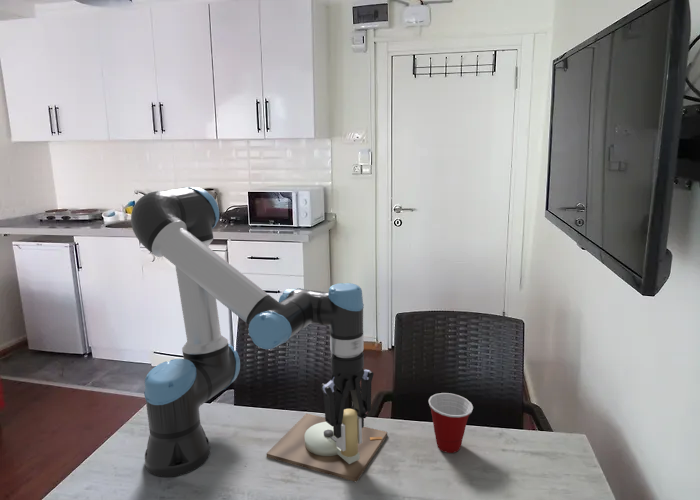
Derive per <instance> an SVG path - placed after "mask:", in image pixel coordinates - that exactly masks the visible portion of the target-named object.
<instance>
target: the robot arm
mask: <svg viewBox="0 0 700 500" xmlns="http://www.w3.org/2000/svg"><path fill="white" fill-rule="evenodd" d="M130 215H131V216H130V223H131V228H132V231H133V233H134V235H135V237H136V238H137V240H138V241H139V242H140V244H141V245H142V246H143V247H144V248H145V249H146V250H147V251H149V252H150V253H151V254H152V255H153V256H155V257H157V258H162V257H164V258H165V259H166V260H167V261H169V262H170V263H172V265H173V266H175V271H176V279H177V284H178V290H179V297H180V305H181V312H182V316H183V323H184V329H185V335H186V341H185V342H186V343H185V344H184V345H183V347H182V348H181V350H182V357H183V358H175V359H174V358H173V359H170V360H169V361H163V362H161V363H159V364H157V365H155V366H154V367H153V368H151V369H150V371H148V373H147V374H146V377H144V379H145V380H144V391H143V392H144V399H145V405H146V414H147V420H148V427H149V428H148V430H149V435H148V441H147V444H146V446H147V447H146V449H145V452H144V463H145V468H146V470H147V471H148V473H151V475H154V476H157V477H163V478H164V477H165V478H167V477H177V476H182V475H186V474H189V473H191V472H193V471H195V470H197V469H198V468H199V467H201V466H203V464H205V463H206V462H207V461H208V460H209V457H210V455H211V445H210V444H211V443H210V440H209V437H207V434H206V432H205V430H204V428H203V426H202V424H201V417H200V414H201V413H200V407H202V405H204V404H205V403H207V402H208V401H209V400H211V399H212V398H213V397H215V396H216V395H218V394H219V393H220V392H222V391H224V390H226V389H227V388H228V387H229V386H230V385H231V384H232V383H234V381H236V380H237V378H238V376H239V374H240V369H241V361H240V360H241V359H240V356H239V353H238V351H237V350H235V347H234V346H233V345H231V344H230V343H229V340H228V338H226V337H225V336H223V335H222V332H221V325H220V317H219V311H218V305H217V301H218V302H220V303H221V304H222V305H223V306H224V307H226V308H227V309H228V310H230V311H231V312H232V313H233V314H235V315H236V316H237V317H238V318H239V319H241V320H242V321H243V322H245V323H246V324H247V325H248V335H249V337H250V338H251V340H252V342H253V344H254V345H255V346H257V347H258V348H261V349H263V350H272V349H275V348H276V347H278V346H281V345H282V344H284V343H286V342H287V341H289V339H290V338H292V337H294V336H295V335H296V334H298V333H299V332H300V331H302V330H303V329H304V328H306V327H308V326H309V325H318V326H319V325H320V326H328V327H329V333H330V334H329V342H330V343H329V345H330V346H329V350H330V352H331V353H330V368H331V377H330V380H329V381H328V382H327V383H322V384H320V390H321V391H322V394H323V407H324V418H325V421H326V422H327V423H328V424H330V425H331V426H333V433H334V436H335V437H336V446H337V447H338V448H340V449H341V450H342V451H345V450H346V442H345V424H343V423H342V421H343V414H344V409H345V406H346V400H347V398H348V396H349V392H350V395H351V400H352V403H353V410H356V411H357V431H358V443H359V444H361V443H362V428H363V427H365V419H366V418H367V417H368V414H367V412H368V413H369V412H371V411H372V383H373V382H372V381H373V377H374V374H375V373H374V372H373V371H371V370H370V369H368V368H364V367H365V358H364V357H365V354H364V352H363V351H364V348H365V347H364V305H365V304H364V300H363V299H364V298H363V297H364V296H363V290H362V288H361V287H360V286H359V285H358V284H355V283H351V282H345V283H343V282H340V283H335V284H333V285H331V286H330V287H329V288H328V291H321V290H310V289H304V288H299V287H298V288H287V289H285V290H284V291H282V294H281V295H280V296H279V298H278V300H276V299H275V298H274V297H273V296H271V295H270V294H269V293H267V292H266V291H264V289H262V287H259V285H257V284H256V283H255V282H253V281H252V280H251V279H250V278H248V277H247V276H245V274H243V273H242V272H241V271H239V270H238V269H237V268H236V267H234V266H233V265H232V264H230V263H229V262H228V261H227V260H225V259H224V258H222V257H221V256H220V255H219V254H218V253H216V252H215V251H214V250H213V249H212V248H210V247H209V246H210V245H211V243H212V242H213V240H214V232H213V229H214V228H215V227H216V226H217V223H218V222H219V219H220V207H219V204H218V202H217V200H216V199H215V197H214V196H213V195H212V194H210V192H208V191H207V190H206V189H203V188H201V187H199V186H198V187H196V186H188V187H187V186H183V187H178V188H173V189H172V188H171V189H166V190H156V191H151V192H147V193H146V194H144V195H143V196H141V197H140V198H139V199H138V200H137V201H136V202H135V204H134V206H133V207H132V210H131V214H130ZM334 387H335V388H334ZM334 393H335V395H334Z"/></svg>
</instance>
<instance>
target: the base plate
mask: <svg viewBox="0 0 700 500" xmlns="http://www.w3.org/2000/svg"><path fill="white" fill-rule="evenodd" d="M321 422H326V421H325V416H324V417H323V416H319V415H315V414H311V413H305V414H304V415H303V416H302V417H301V418H300V419H299V420H298V421H297V422H296V423H295V424H294V425H293V426H292V427H291V428H290V429H289V430H288V431H287V432H286V433H285V434H284V435H283V436H282V437H281V438H280V439H279V440H278V441H277V442H276V443H275V444H274V445H273V446H272V447H271V448H270V449H269V450H268V451H267V452H266V453H265V455H266V458H269V459H272V460H276V461H279V462H282V463H283V462H284V463H287V464H289V465H290V464H291V465H293V466H294V465H295V466H297V467H301V468H304V469H307V470H311V471H315V472H319V473H321V474H325V475H326V474H327V475H329V476H334V477H336V478H340V479H343V480H347V481H351V482H354V483H358V481H359V479H360V478H361V476H362V475H363V473H364V472H365V470H366V469H367V467H368V465H370V462H371V461H372V459H373V458H374V457H375V455H376V453H377V452H378V450H379V449H380V447H381V446H382V444H383V443H384V441H385V440H386V438H388V437H387V436H388V431H385V430H381V429H377V428H373V427H368V426H364V427H363V428H362V443H361V444H359V443H358V452H359V453H360V459H359V460H357V461H355V462H353V463H351V464H349V463H347V462H346V461H345V460H344V459H343V458H341V457H340V456H339V455H334V456H320V455H316V454H313V453H311V452H310V451H309V450H308V449H307V448H306V446H305V432H306V431H307V429H309V428H310V427H311V426H313V425H315V424H318V423H321Z"/></svg>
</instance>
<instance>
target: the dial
mask: <svg viewBox="0 0 700 500" xmlns="http://www.w3.org/2000/svg"><path fill="white" fill-rule="evenodd" d="M342 423H343V424H345V442H346V450H345V451H342V450H341V449H340V448H338V447H337V446H336V437H335V436H334V433H333V426H331V425H330V424H328V423H327V422H321V423H318V424H315V425H313V426H311V427H310V428H309V429H307V431H306V432H305V446H306V448H307V449H308V450H309V451H310V452H311V453H313V454H316V455H320V456H334V455H339V456H340V457H341V458H343V459H344V460H345V461H346V462H347V463H349V464H351V463H353V462H355V461H357V460H359V459H360V453H359V452H358V431H357V411H356V410H355V409H354V408H344V414H343V421H342Z"/></svg>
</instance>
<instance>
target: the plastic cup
mask: <svg viewBox="0 0 700 500" xmlns="http://www.w3.org/2000/svg"><path fill="white" fill-rule="evenodd" d="M428 404H429V405H428V406H429V407H430V410H431V411H430V413H431V416H432V417H431V418H432V425H433V431H434V435H435V442H436V445H437V448H438V449H439V450H440V451H442V452H443V453H444V452H445V453H449V454H453V453H457V452H458V451H459V450H461V447H462V444H463V443H462V442H463V438H464V435H465V433H466V432H465V430H466V426H467V423H468V419H469V417H470V415H471V414H472V412H473V409H474V406H473V404H472V402H471V401H469V400H468V399H467V398H465V397H464V396H461V395H459V394H456V393H451V392H450V393H449V392H441V393H435V394H433V395H431V396H430V397H429V398H428Z"/></svg>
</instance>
